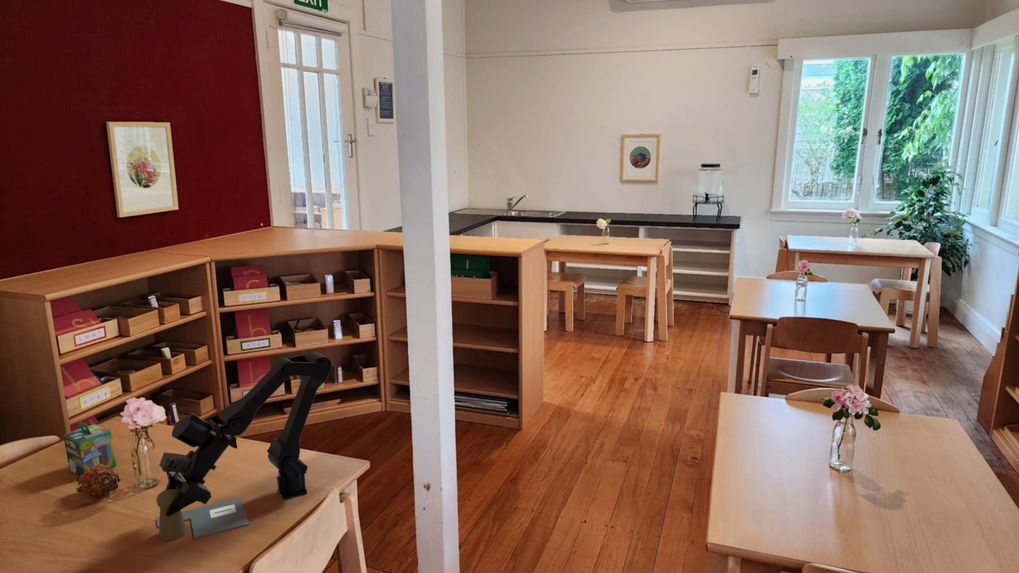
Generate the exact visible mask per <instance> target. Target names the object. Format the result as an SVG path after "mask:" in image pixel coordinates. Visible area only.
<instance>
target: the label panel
mask: <svg viewBox="0 0 1019 573" xmlns="http://www.w3.org/2000/svg"><path fill="white" fill-rule="evenodd" d="M181 512H182V515H183V519H184V522H186V521H190V522H191V528H192V533H193V539H194V540H196V539H200V538H203V537H207V536H211V535H214V534H218V533H222V532H226V531H230V530H234V529H238V528H242V527H246V526H249V525H250V523H249V520H248V519H249V518H248V516H247V514H246V510H245V507H244V504H243V500H242V498H241V497H236V498H233V499H228V500H224V501H220V502H215V503H212V504H208V505H207V504H206V505H204V506H199V507H195V508H191V509H186V510H183V511H182V510H181ZM156 525H157V528H159V525H160V516H157V517H156Z"/></svg>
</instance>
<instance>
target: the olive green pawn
mask: <svg viewBox="0 0 1019 573" xmlns="http://www.w3.org/2000/svg"><path fill="white" fill-rule="evenodd" d="M176 495H177V490H175V489H168V490H163V491H161V492H159V493H158V494H157V497H156V503H157V504H156V505H157V506H158V507H159V517H160V525H159V527H158V528H159V530H158V532H159V533H158V534H159V535H158V536H159V538H160V540H162V541H170V540H172V541H173V540H175V539H179V538H181V537H182V536H184V535H185V534H186V533H187V527H186V526H187V525H186V521H184V519H183V515H182V509H181V510H179V511H178V512H176V513H174V514H173V515H171V516H169V517H168V516H166V515H165V513H166V511H167V510H168V508H169V506H170V505H171V503H172V501H173V500H174V498H175V497H176Z"/></svg>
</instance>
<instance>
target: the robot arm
mask: <svg viewBox="0 0 1019 573" xmlns="http://www.w3.org/2000/svg"><path fill="white" fill-rule="evenodd" d="M332 368H333V364H332V362H331V360H330V359H329V358H328V357H326V356H324V355H323V354H321V353H319V352H317V351H309V352H307V353H305V354H298V355H293V356H291V357H282V358H280V359H278V360H277V361H276V364H275V365H273V367H272V368H271V369H270V370H269V371H268V372H267V373H266V374H265V375H264V376H263V377H262V378H261V379H260V380H259V381H258V382H257V383H256V384H255V385H254V386H253V387H252V388H251V389H250V390H249V391H248V392H247V393H246V394H245V395H244V396H242V397H241V398H239V399H237V400H235V401H233V402H231V403H230V404H228V405H227V406H226V407H225V408H223V409H221V410H220V411H219V413H217V414H214V415H212V416H209V417H206V418H204V419H203V418H201V417H199V416H198V415H196V414H195V413H194V412H192V411H191V412H189V414H188V415H186V416H184V417H182V418H181V419H180V420H178V421H177V422H176V423H175V425H174V427H173V428H172V431H171V437H172V438H174V439H176V440H177V441H179V442H181V443H184V444H186V445H187V446H189V447H191V448H196V447H197V448H196V449H195V450H193V449H192V450H189V451H188V452H187V454H182V453H173V452H163V454H162V457H161V460H160V461H159V468H161V470H162V472H164V473H165V474H166V476H167V477H166V478H167V485H166V488H165V490H168V489H175V490H177V495H176V497H175V498H174V500H173V501H172V503H171V505H170V506H169V508H168V510H167V511H166V513H165V515H166V516H168V517H169V516H171V515H173V514H174V513H176V512H178V511H179V510H181V511H182V509H184V508H186V507H188V506H190V505H192V504H194V503H195V502H199V503H202V504H203V505H207V503H208V502H209V501H210V499H211V498H212V495H211V491H210V490H209V489H208V487H207V486H205V485H204V484H205V483H206V480H205V477H206V476H207V475H208V474H209V472H210V471H211V470H212V471H215V470H216V468H217V466H216V465H215V464H216V463H217V461H219V459H220V458H221V456H222V455H223V454H224V452H225V451H226V450H227V449H228V448H229V447H231V448H233V449H234V450H236V449H238V443H237V436H240V435H242V434H244V433H245V431H247V429H248V428H249V426H250V425H251V423H252V422H253V420H254V418H255V416H256V413H257V411H258V410H259V409H260V407H262V406H263V405H264V404H265V402H266V401H268V399H270V397H272V396H273V394H274V393H276V392H277V390H278V389H279V388H280V387H281V386H282V385H283V384H285V382H286V381H287V380H288V379H290V377H294V376H295V377H296V376H299V379H300V381H299V382H300V383H299V386H298V388H297V392H296V395H295V397H294V400H293V403H292V405H291V408H290V410H289V414H288V417H287V419H286V422H285V425H284V428H283V431H282V432H281V434H280V435H279V436H278V437H277V438H276V437H272V438H271V441H270V444H269V447H268V449H267V450H266V452H267V453H268V454H267V458H268V461H269V463H271V464H272V465H273V466H274V467H275V468H276V469H277V470H278V476H276V486H277V492H278V494H279V495H280V496H281V498H282V499H283V500H286V499H290V498H293V497H297V496H302V495H306V494H307V493H308V489H307V488H306V478H305V477H306V476H305V474H307V471H308V465H307V464H306V463H304V461H302V460H301V459H300V454H301V442H300V441H301V440H300V439H301V436H302V433H303V430H304V427H305V426H306V422H307V420H308V417H309V415H310V412H311V408H312V406H313V403H314V400H315V398H316V394H317V391H318V390H319V389H320V387H321V386H323V384H324V383H325V382H326V381H327V379H328V377H329V375H330V373H331V372H332ZM165 490H164V491H165Z"/></svg>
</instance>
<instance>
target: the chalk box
mask: <svg viewBox="0 0 1019 573" xmlns="http://www.w3.org/2000/svg"><path fill="white" fill-rule="evenodd" d="M77 424H78V426H79V428H77V429H75V430H73V431H70V432H67V433H65V434H63V435H62V436H63V441H64V447H65V453H66V459H67V465H68V466H67V467H68V471H70V472H72V473H73V474H75V475H77V476H78V477H79V476H81V475H83V474H84V473H87V472H89V471H90V469H91V468H92V467H93V466H97V465H100V466H109V467H110V468H113V467H116V466H117V460H116V455H115V450H114V449H115V448H114V443H113V436H112V430H111V429H109V428H107V427H104V426H101V425H99V424H96V423H94V424H91V425H87V424H86V423H84V422H81V421H79V420H77Z"/></svg>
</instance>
